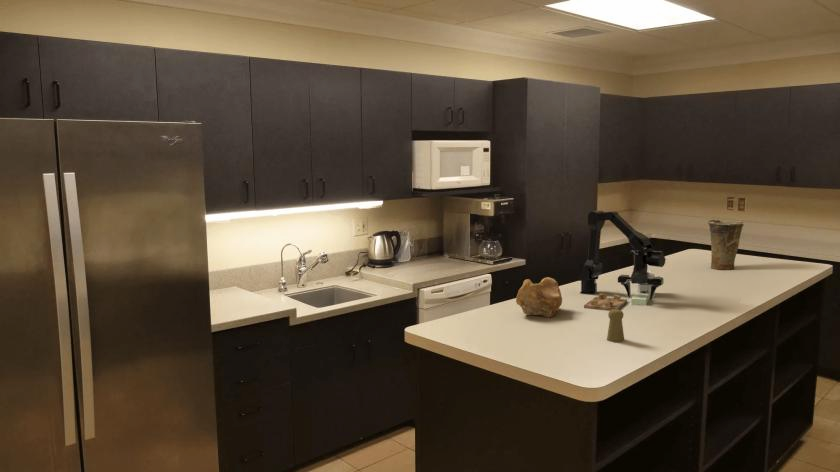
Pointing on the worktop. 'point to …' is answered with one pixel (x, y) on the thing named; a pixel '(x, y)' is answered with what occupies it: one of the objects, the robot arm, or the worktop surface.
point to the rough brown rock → (540, 297)
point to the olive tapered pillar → (615, 326)
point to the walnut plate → (606, 302)
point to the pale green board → (640, 299)
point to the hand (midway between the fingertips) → (640, 298)
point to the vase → (724, 243)
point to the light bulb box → (645, 285)
